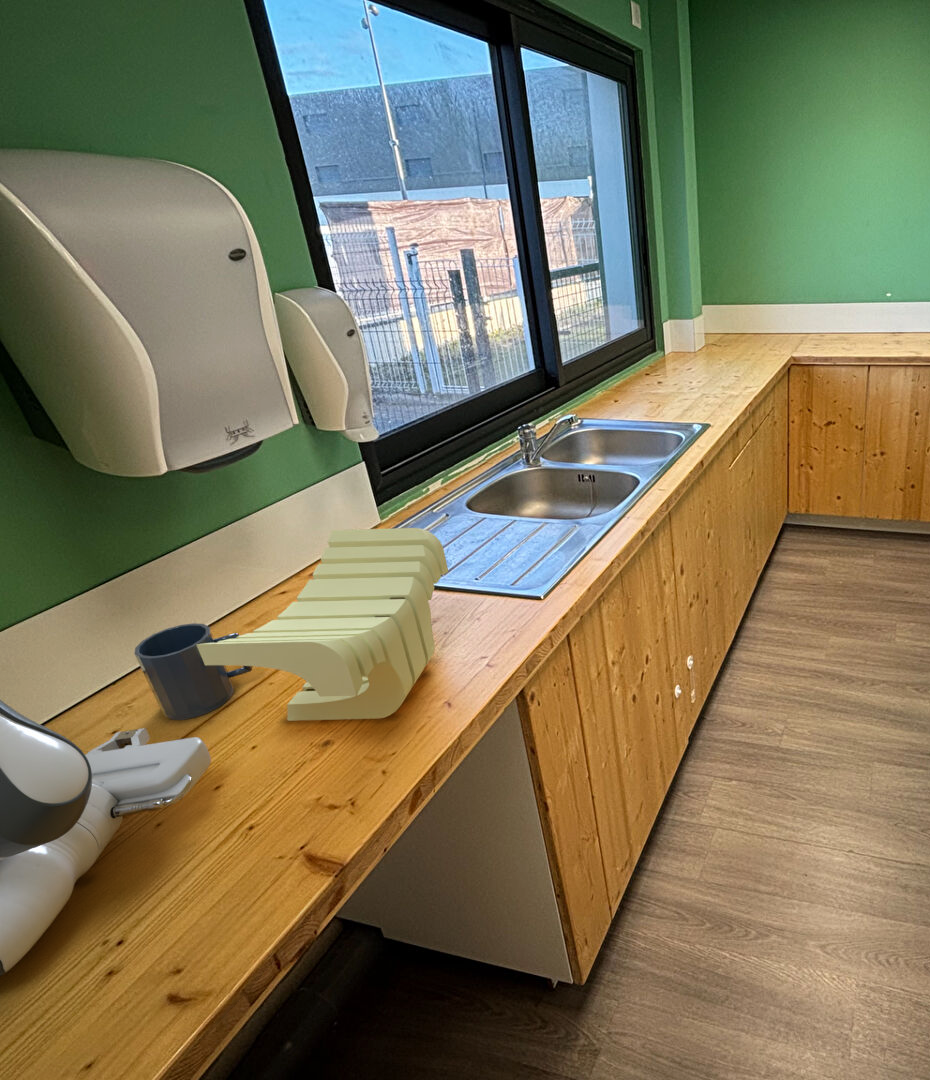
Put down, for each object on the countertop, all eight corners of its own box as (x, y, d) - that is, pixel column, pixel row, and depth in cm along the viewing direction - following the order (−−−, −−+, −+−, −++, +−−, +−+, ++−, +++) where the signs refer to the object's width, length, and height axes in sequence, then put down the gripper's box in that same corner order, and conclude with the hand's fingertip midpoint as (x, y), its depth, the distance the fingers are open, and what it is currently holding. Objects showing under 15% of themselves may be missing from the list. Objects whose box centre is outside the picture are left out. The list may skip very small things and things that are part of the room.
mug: (162, 728, 92) (132, 665, 87) (164, 696, 98) (136, 636, 94) (259, 696, 97) (235, 636, 93) (255, 668, 103) (233, 610, 99)
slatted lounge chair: (378, 764, 84) (339, 640, 77) (248, 767, 85) (196, 644, 77) (461, 628, 112) (438, 527, 104) (362, 631, 112) (332, 530, 104)
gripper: (165, 781, 71) (221, 698, 84) (-71, 821, 68) (24, 728, 80) (188, 826, 74) (239, 739, 86) (-39, 866, 70) (48, 770, 83)
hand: (134, 734), depth 83 cm, fingers closed
